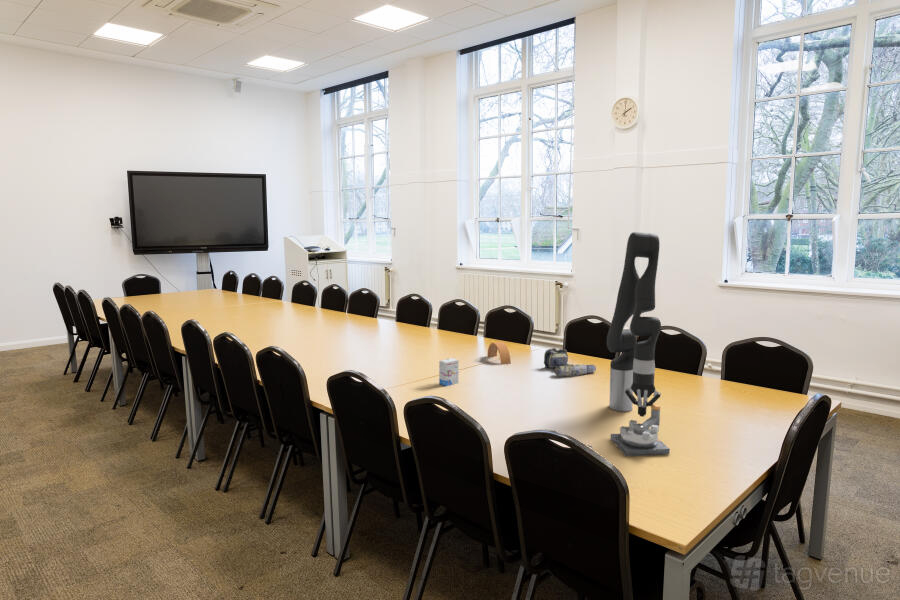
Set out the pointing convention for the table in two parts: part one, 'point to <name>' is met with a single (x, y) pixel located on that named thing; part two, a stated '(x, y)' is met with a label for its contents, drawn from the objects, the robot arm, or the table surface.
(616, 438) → the base plate
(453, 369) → the ink box
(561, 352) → the power drill
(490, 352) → the arch
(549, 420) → the table surface
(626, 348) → the robot arm
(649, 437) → the orange knob lever
